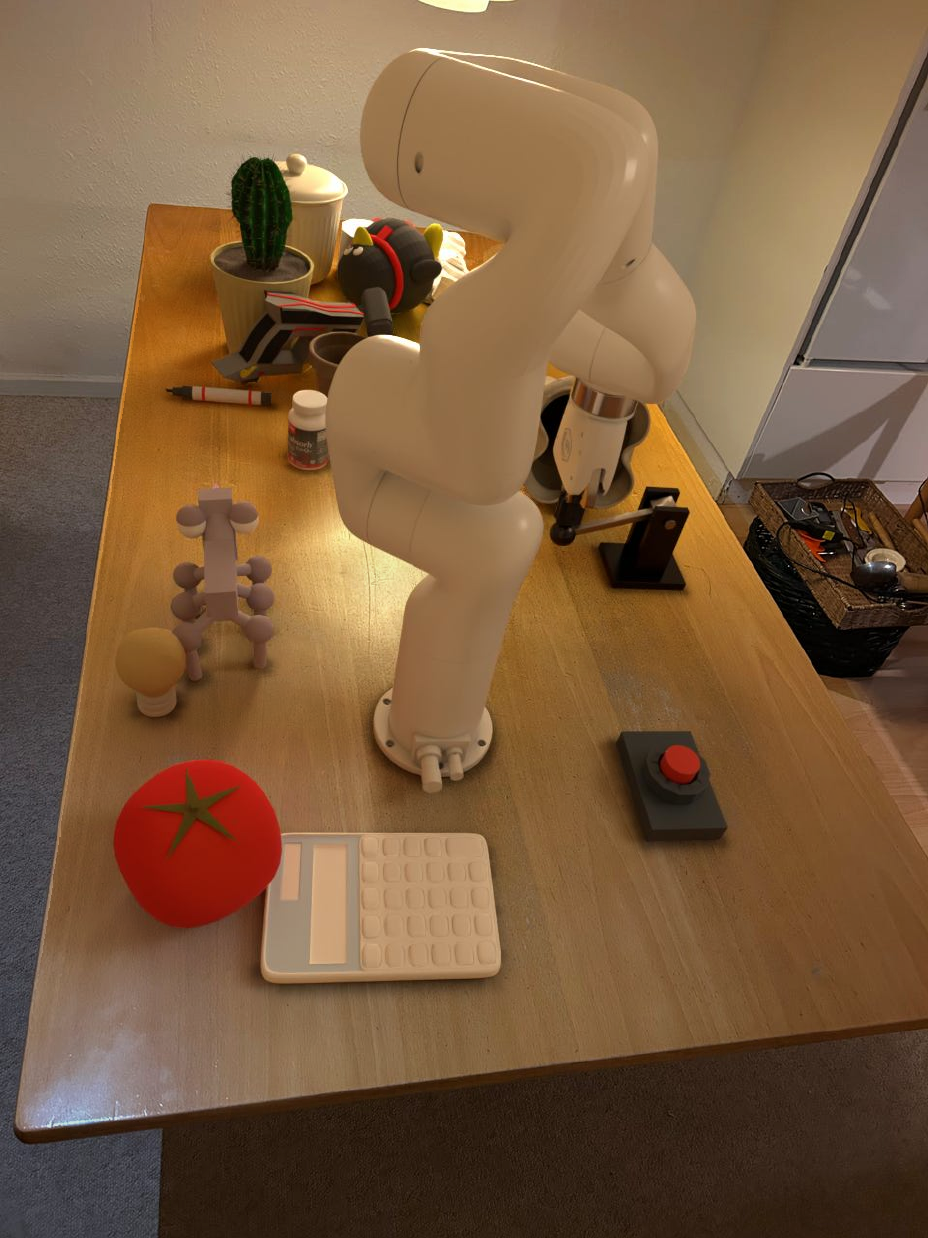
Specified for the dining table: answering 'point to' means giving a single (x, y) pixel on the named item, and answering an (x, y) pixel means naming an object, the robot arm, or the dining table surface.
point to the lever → (604, 523)
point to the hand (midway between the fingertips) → (566, 521)
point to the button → (680, 764)
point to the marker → (222, 395)
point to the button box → (668, 789)
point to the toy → (391, 263)
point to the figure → (449, 262)
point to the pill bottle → (307, 431)
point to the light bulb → (151, 668)
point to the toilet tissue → (349, 234)
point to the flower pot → (330, 355)
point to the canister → (313, 211)
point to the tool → (286, 336)
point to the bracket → (648, 547)
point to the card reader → (376, 312)
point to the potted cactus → (257, 251)
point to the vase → (544, 470)
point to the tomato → (197, 843)
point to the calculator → (380, 909)
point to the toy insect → (220, 576)
